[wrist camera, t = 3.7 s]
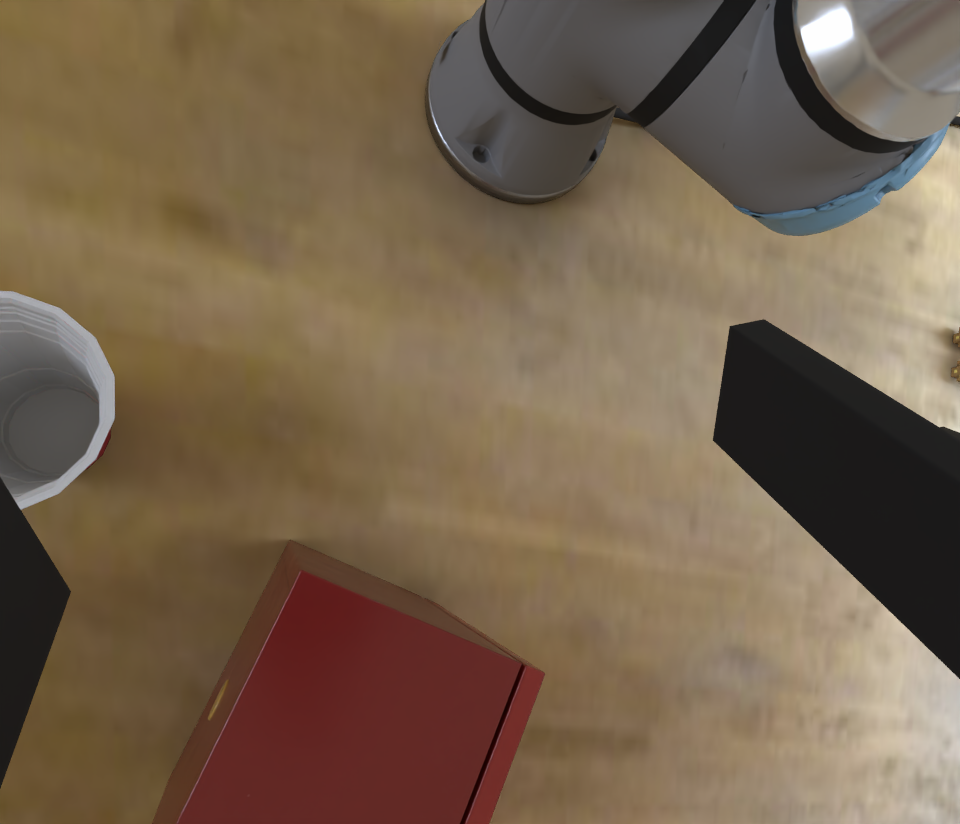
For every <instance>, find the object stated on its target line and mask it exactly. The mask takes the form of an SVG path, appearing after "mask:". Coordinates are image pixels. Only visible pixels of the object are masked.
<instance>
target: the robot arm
mask: <svg viewBox="0 0 960 824" xmlns="http://www.w3.org/2000/svg"><path fill="white" fill-rule="evenodd" d="M440 42H441V41H440ZM439 45H440V44H439ZM618 107H619V108H618ZM425 108H426V115H427V120H428V124H429V127H430V130H431V133H432V135H433V138H434V140H435V142H436V144H437V146H438V148H439V150H440V151H441V153H442V154H443V156H444V157H445V159H446V160H447V161H448V162H449V164H450V165H451V166H452V167H453V168H454V169H455V170H456V171H457V172H458V173H459V174H460V175H461V176H462V177H463V178H464V179H465V180H467V181H468V182H469V183H471V184H472V185H473V186H475V187H476V188H478V189H480V190H481V191H483V192H485V193H487V194H489V195H492V196H494V197H496V198H499V199H502V200H506V201H510V202H515V203H530V204H532V203H541V202H546V201H550V200H553V199H556V198H558V197H560V196H563V195H564V194H566V193H568V192H569V191H570V190H572V189H573V188H574V187H575V186H576V185H578V184H579V183H580V182H581V181H582V179H583V178H584V177H585V176H586V175H587V174H588V173H589V172H590V171H591V169H592V168H593V166H594V165H595V163H596V161H597V160H598V158H599V156H600V154H601V152H602V150H603V148H604V145H605V142H606V138H607V136H608V133H609V129H610V126H611V123H612V120H613V117H615V118H620V119H624V120H628V121H632V122H636V123H638V124H640V125H641V126H642V127H643V128H644V129H645V130H646V131H647V132H649V133H650V134H651V135H652V136H653V137H655V138H656V139H657V140H658V141H659V142H660V143H662V144H663V145H664V146H665V147H666V148H667V149H669V150H670V151H671V152H672V153H673V154H674V155H676V156H677V157H678V158H679V159H680V160H681V161H683V162H684V163H685V164H686V165H687V166H689V167H690V168H691V169H692V170H693V171H694V172H696V173H697V174H698V175H699V176H700V177H701V178H703V179H704V180H705V181H706V182H707V183H708V184H710V185H711V186H712V187H713V188H714V189H715V190H717V191H718V192H719V193H720V194H721V195H723V196H724V197H725V198H726V199H727V200H728V201H729V202H730V203H732V204H733V206H734V207H735V208H736V209H737V210H739V211H740V212H742V213H744V214H747V215H749V216H752V217H753V218H755V219H756V220H757V221H759V222H760V223H762V224H763V225H765V226H766V227H767V228H769V229H771V230H773V231H775V232H777V233H780V234H784V235H792V236H804V235H811V234H816V233H821V232H824V231H827V230H831V229H834V228H836V227H839V226H841V225H844V224H846V223H848V222H850V221H852V220H854V219H856V218H858V217H860V216H861V215H863V214H865V213H867V212H868V211H870V210H871V209H873V208H874V207H876V206H878V205H879V204H880V201H881V198H882V197H883V196H884V195H885V194H886V193H888V192H890V191H896V190H899V189H901V188H902V187H903V186H904V185H905V184H906V183H908V182H909V181H910V180H911V179H912V178H913V177H914V176H915V175H916V174H917V173H918V172H919V171H920V170H921V169H922V168H923V167H924V166H925V164H926V163H927V162H928V161H929V160H930V158H931V157H932V156H933V155H934V153H935V152H936V151H937V149H938V147H939V146H940V144H941V142H942V140H943V138H944V136H945V134H946V131H947V129H948V126H949V124H950V123H951V124H956V125H960V117H958V116H957V115H958V114H959V112H960V0H485V3H484V4H483V5H482V6H481V7H480V8H479V9H478V10H477V11H476V12H475V14H474V15H473V16H472V18H471V19H469V20H467V21H466V22H464V23H463V24H461V25H460V26H459V27H458V28H457V29H456V30H455V31H453V32H452V33H451V35H450V36H449V37H448V38H447V39H446V41H445V42H444V44H443V45H442V47H441V48H440V50H439V51H438V53H437V55H436V57H435V59H434V62H433V65H432V67H431V70H430V73H429V76H428V79H427V84H426V90H425ZM713 441H714V442H715V443H716V444H717V445H718V446H719V447H720V448H721V449H723V450H724V451H725V452H726V453H727V454H728V455H729V456H730V457H731V458H732V459H733V460H734V461H735V462H736V463H737V464H738V465H739V466H740V467H741V468H742V469H743V470H744V471H745V472H746V473H747V474H748V475H749V476H750V477H751V478H753V479H754V480H755V481H756V482H757V483H758V484H759V485H760V486H761V487H762V488H763V489H764V490H765V491H766V492H767V493H768V494H769V495H770V496H771V497H772V498H773V499H774V500H775V501H776V502H777V503H778V504H779V505H780V506H781V507H783V508H784V509H785V510H786V511H787V512H788V513H789V514H790V515H791V516H792V517H793V518H794V519H795V520H796V521H797V522H798V523H799V524H800V525H801V526H802V527H803V528H804V529H805V530H806V531H807V532H808V533H809V534H810V535H811V536H813V537H814V538H815V539H816V540H817V541H818V542H819V543H820V544H821V545H822V546H823V547H824V548H825V549H826V550H827V551H828V552H829V553H830V554H831V555H832V556H833V557H834V558H835V559H836V560H837V561H838V562H839V563H840V564H841V565H843V566H844V567H845V568H846V569H847V570H848V571H849V572H850V573H851V574H852V575H853V576H854V577H855V578H856V579H857V580H858V581H859V582H860V583H861V584H862V585H863V586H864V587H865V588H866V589H867V590H868V591H869V592H870V593H871V594H872V595H874V596H875V597H876V598H877V599H878V600H879V601H880V602H881V603H882V604H883V605H884V606H885V607H886V608H887V609H888V610H889V611H890V612H891V613H892V614H893V615H894V616H895V617H896V618H897V619H898V620H899V621H900V622H901V623H902V624H904V625H905V626H906V627H907V628H908V629H909V630H910V631H911V632H912V633H913V634H914V635H915V636H916V637H917V638H918V639H919V640H920V641H921V642H922V643H923V644H924V645H925V646H926V647H927V648H928V649H929V650H930V651H931V652H932V653H934V654H935V655H936V656H937V657H938V658H939V659H940V660H941V661H942V662H943V663H944V664H945V665H946V666H947V667H948V668H949V669H950V670H951V671H952V672H953V673H954V674H955V675H956V676H957V677H958V678H959V679H960V433H959V432H956V431H953V430H950V429H948V428H945V427H940V428H939V427H938V426H936V425H934V424H933V423H931V422H930V421H928V420H926V419H925V418H923V417H921V416H920V415H918V414H917V413H915V412H913V411H912V410H910V409H908V408H907V407H905V406H904V405H902V404H900V403H899V402H897V401H895V400H894V399H892V398H891V397H889V396H887V395H886V394H884V393H883V392H881V391H879V390H878V389H876V388H874V387H873V386H871V385H870V384H868V383H866V382H865V381H863V380H861V379H860V378H858V377H857V376H855V375H853V374H852V373H850V372H849V371H847V370H845V369H844V368H842V367H840V366H839V365H837V364H836V363H834V362H832V361H831V360H829V359H827V358H826V357H824V356H823V355H821V354H819V353H818V352H816V351H814V350H813V349H811V348H810V347H808V346H806V345H805V344H803V343H802V342H800V341H798V340H797V339H795V338H793V337H792V336H790V335H789V334H787V333H785V332H784V331H782V330H780V329H779V328H777V327H776V326H774V325H772V324H771V323H769V322H768V321H766V320H759V321H754V322H749V323H744V324H739V325H734V326H730V329H729V335H728V342H727V349H726V355H725V362H724V369H723V376H722V382H721V389H720V396H719V402H718V409H717V416H716V423H715V429H714V436H713ZM70 593H71V591H70V589H69V588H68V586H67V585H66V583H65V581H64V580H63V578H62V576H61V575H60V573H59V572H58V570H57V568H56V567H55V565H54V563H53V562H52V560H51V559H50V557H49V555H48V554H47V552H46V550H45V549H44V547H43V546H42V544H41V542H40V541H39V539H38V537H37V536H36V534H35V533H34V531H33V529H32V528H31V526H30V524H29V523H28V521H27V519H26V518H25V516H24V515H23V513H22V511H21V510H20V508H19V506H18V505H17V503H16V502H15V500H14V498H13V497H12V495H11V493H10V492H9V490H8V489H7V487H6V485H5V484H4V482H3V480H2V479H1V477H0V788H1V785H2V782H3V779H4V777H5V774H6V771H7V768H8V765H9V763H10V760H11V757H12V754H13V752H14V749H15V746H16V743H17V740H18V738H19V735H20V732H21V729H22V726H23V724H24V721H25V718H26V715H27V713H28V710H29V707H30V704H31V701H32V699H33V696H34V693H35V690H36V687H37V685H38V682H39V679H40V676H41V674H42V671H43V668H44V665H45V662H46V660H47V657H48V654H49V651H50V648H51V646H52V643H53V640H54V637H55V635H56V632H57V629H58V626H59V623H60V621H61V618H62V615H63V612H64V610H65V607H66V604H67V601H68V598H69V596H70Z"/></svg>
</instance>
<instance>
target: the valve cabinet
mask: <svg viewBox="0 0 960 824" xmlns="http://www.w3.org/2000/svg"><path fill="white" fill-rule="evenodd" d="M520 667H521V663H520V662H519V661H517V660H516V659H514V658H512V657H511V656H510V655H508V654H507V653H505V652H503V651H502V650H500V649H499V648H497V647H496V646H494V645H493V644H491V643H490V642H488V641H487V640H485V639H484V638H482V637H481V636H479V635H478V634H476V633H475V632H473V631H472V630H470V629H469V628H467V627H466V626H464V625H463V624H461V623H460V622H458V621H457V620H455V619H454V618H452V617H451V616H449V615H448V614H446V613H445V612H443V611H442V610H440V609H439V608H437V607H436V606H434V605H433V604H431V603H430V602H428V601H427V600H425V599H424V598H422V597H421V596H419V595H417V594H414V593H412V592H410V591H407V590H405V589H403V588H401V587H398V586H396V585H394V584H391V583H389V582H387V581H384V580H382V579H380V578H378V577H375V576H373V575H371V574H368V573H366V572H364V571H361V570H359V569H357V568H355V567H352V566H350V565H348V564H345V563H343V562H341V561H338V560H336V559H334V558H332V557H329V556H327V555H325V554H322V553H320V552H318V551H316V550H313V549H311V548H309V547H306V546H304V545H302V544H299V543H297V542H295V541H293V540H289V542H288V544H287V546H286V548H285V550H284V552H283V554H282V556H281V558H280V560H279V562H278V564H277V566H276V568H275V570H274V572H273V574H272V575H271V577H270V579H269V581H268V583H267V585H266V587H265V589H264V591H263V593H262V595H261V597H260V599H259V601H258V603H257V605H256V607H255V609H254V611H253V613H252V615H251V617H250V619H249V621H248V623H247V625H246V627H245V629H244V631H243V633H242V635H241V637H240V639H239V641H238V643H237V645H236V647H235V649H234V651H233V653H232V655H231V657H230V659H229V661H228V663H227V665H226V667H225V669H224V671H223V673H222V675H221V677H220V679H219V681H218V683H217V685H216V687H215V689H214V691H213V693H212V695H211V697H210V699H209V701H208V703H207V705H206V707H205V709H204V711H203V713H202V715H201V717H200V719H199V721H198V723H197V725H196V727H195V729H194V731H193V733H192V735H191V737H190V739H189V741H188V743H187V745H186V747H185V749H184V751H183V753H182V755H181V757H180V759H179V761H178V763H177V765H176V767H175V768H174V770H173V772H172V774H171V776H170V778H169V781H168V783H167V786H166V788H165V791H164V794H163V796H162V799H161V801H160V804H159V807H158V809H157V812H156V815H155V817H154V820H153V822H152V824H460V822H461V820H462V817H463V814H464V812H465V809H466V807H467V804H468V801H469V799H470V796H471V794H472V791H473V788H474V786H475V783H476V781H477V778H478V775H479V773H480V770H481V768H482V765H483V763H484V760H485V757H486V755H487V752H488V750H489V747H490V744H491V742H492V739H493V737H494V734H495V731H496V729H497V726H498V724H499V721H500V718H501V716H502V713H503V711H504V708H505V706H506V703H507V700H508V698H509V695H510V693H511V690H512V687H513V685H514V682H515V680H516V677H517V674H518V672H519V669H520ZM227 679H229V681H228V684H227V686H226V689H225V691H224V693H223V695H222V697H221V699H220V701H219V703H218V706H217V708H216V709H215V711H214V713H213V715H212V717H211V719H210V720H208V716H209V714H210V711H211V709H212V707H213V705H214V702H215V700H216V698H217V696H218V694H219V692H220V690H221V688H222V686H223V685H224V683H225V681H226V680H227Z"/></svg>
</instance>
